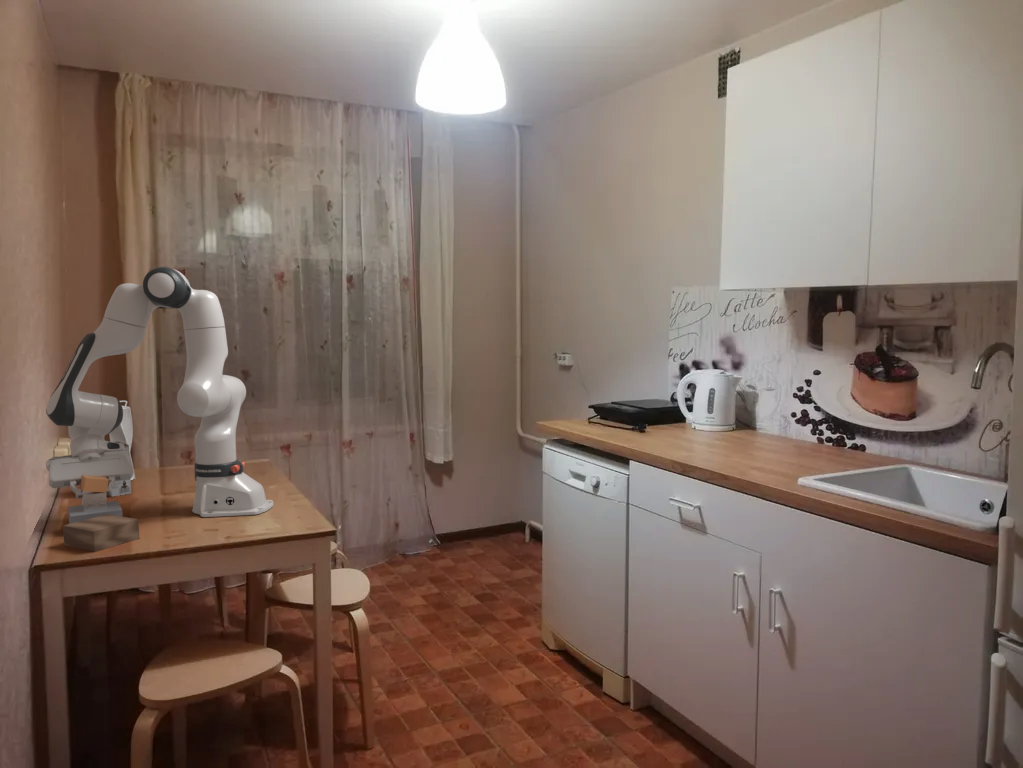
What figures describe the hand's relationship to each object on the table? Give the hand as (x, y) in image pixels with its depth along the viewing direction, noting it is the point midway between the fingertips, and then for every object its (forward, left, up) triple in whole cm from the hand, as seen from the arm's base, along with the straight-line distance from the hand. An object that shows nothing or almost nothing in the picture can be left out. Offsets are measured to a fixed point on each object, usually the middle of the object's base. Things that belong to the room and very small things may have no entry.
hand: (94, 494), depth 203 cm
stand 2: (-10, +13, -9) cm, 19 cm away
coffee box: (+16, -39, -9) cm, 43 cm away
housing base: (0, -1, -4) cm, 4 cm away
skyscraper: (+24, -57, -9) cm, 62 cm away
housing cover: (0, 0, +1) cm, 1 cm away
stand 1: (0, -1, -9) cm, 9 cm away
